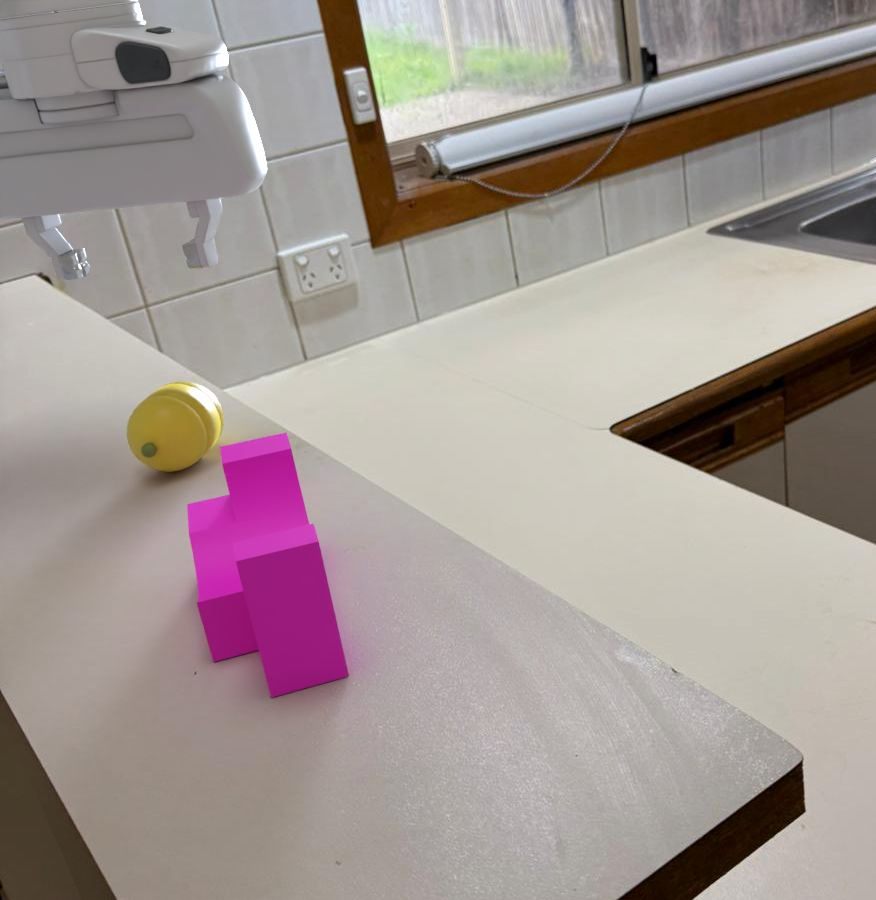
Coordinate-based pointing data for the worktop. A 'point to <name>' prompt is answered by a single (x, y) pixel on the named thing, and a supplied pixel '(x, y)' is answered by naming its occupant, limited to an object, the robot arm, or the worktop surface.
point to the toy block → (265, 570)
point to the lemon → (175, 426)
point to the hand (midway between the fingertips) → (139, 272)
